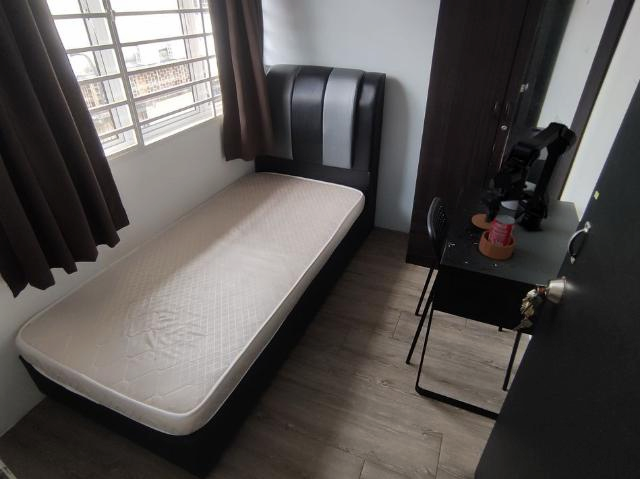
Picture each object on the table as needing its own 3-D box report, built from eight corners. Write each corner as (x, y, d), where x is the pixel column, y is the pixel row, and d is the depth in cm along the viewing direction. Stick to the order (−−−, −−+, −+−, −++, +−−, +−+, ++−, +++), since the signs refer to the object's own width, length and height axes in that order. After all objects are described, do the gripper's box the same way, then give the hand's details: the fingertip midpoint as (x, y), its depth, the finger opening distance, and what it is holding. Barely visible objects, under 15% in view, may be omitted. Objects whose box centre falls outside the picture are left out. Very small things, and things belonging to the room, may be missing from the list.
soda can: (508, 256, 138) (518, 225, 131) (487, 253, 139) (496, 223, 132) (504, 245, 144) (514, 215, 137) (484, 242, 145) (493, 212, 138)
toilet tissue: (495, 200, 174) (501, 180, 169) (518, 197, 177) (525, 177, 171) (510, 211, 166) (517, 191, 160) (534, 208, 168) (542, 188, 163)
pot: (500, 240, 147) (504, 228, 144) (517, 258, 138) (522, 245, 135) (473, 243, 146) (476, 231, 143) (488, 261, 136) (493, 248, 133)
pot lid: (492, 215, 163) (495, 204, 161) (508, 230, 154) (512, 219, 151) (466, 217, 162) (468, 206, 159) (480, 232, 152) (483, 221, 149)
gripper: (527, 168, 135) (514, 207, 144) (478, 171, 132) (467, 211, 141) (548, 181, 126) (532, 222, 134) (496, 185, 123) (483, 227, 132)
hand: (503, 220), depth 136 cm, fingers open, 9 cm apart
